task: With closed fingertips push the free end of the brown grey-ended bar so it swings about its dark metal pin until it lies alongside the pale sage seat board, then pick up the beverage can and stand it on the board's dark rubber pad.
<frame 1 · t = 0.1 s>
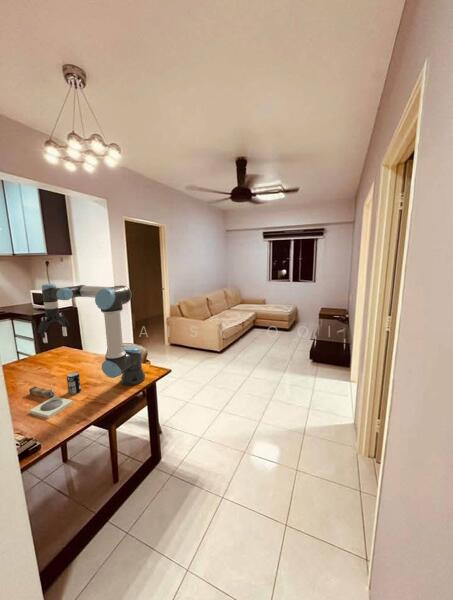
hand: (55, 339, 165), 28 cm above the table, fingers open, 13 cm apart
seat board: (52, 407, 137), on the table
brown grey-ended bar: (41, 392, 148), point 2 cm above the table, hinge at 0.0°
beverage can: (75, 392, 152), on the table
hinge pin: (52, 398, 146), on the table
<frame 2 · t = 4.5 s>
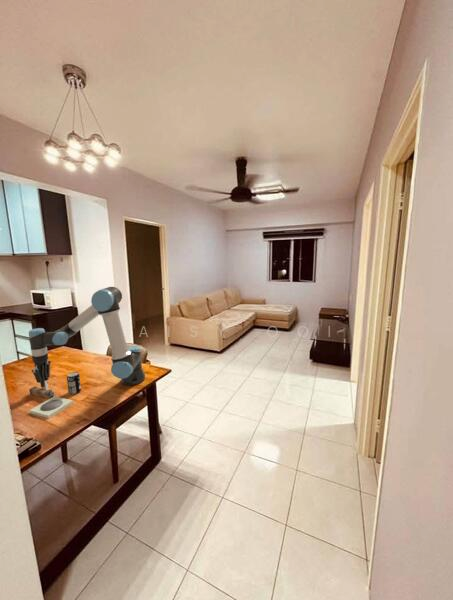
hand: (45, 390, 151), 1 cm above the table, fingers closed
brown grey-ended bar: (41, 392, 148), point 2 cm above the table, hinge at 0.0°, touching gripper
everything else where it was.
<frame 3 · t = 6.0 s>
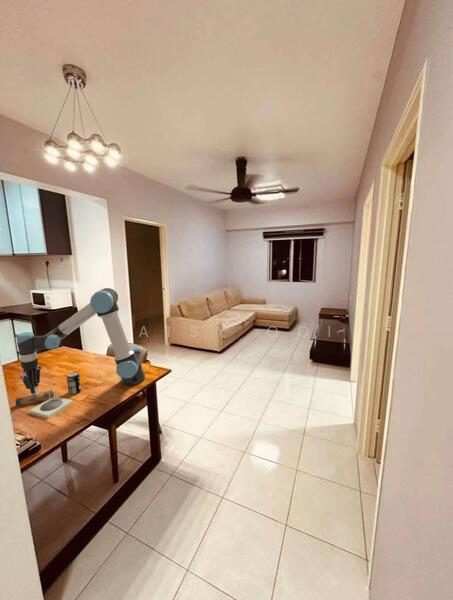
hand: (35, 397, 144), 2 cm above the table, fingers closed
brown grey-ended bar: (33, 398, 142), point 2 cm above the table, hinge at 45.8°, touching gripper
everything else where it was.
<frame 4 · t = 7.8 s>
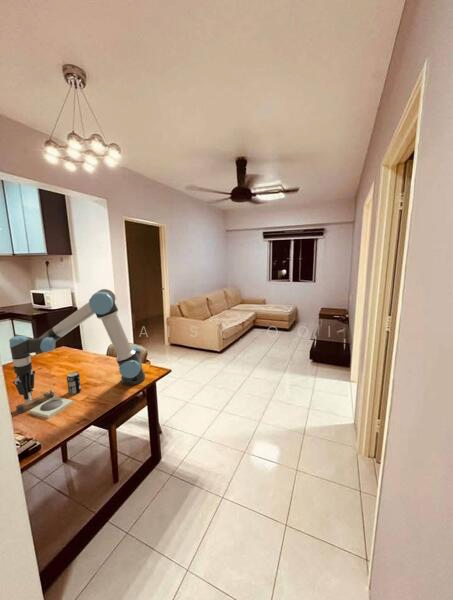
hand: (29, 403, 139), 1 cm above the table, fingers closed
brown grey-ended bar: (34, 402, 138), point 2 cm above the table, hinge at 77.2°, touching gripper
everything else where it was.
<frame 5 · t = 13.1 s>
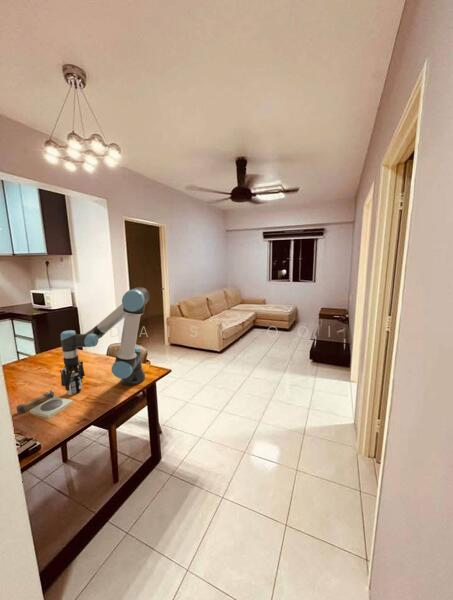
hand: (75, 391, 152), 0 cm above the table, fingers closed on beverage can, 7 cm apart
brown grey-ended bar: (34, 402, 138), point 2 cm above the table, hinge at 78.8°
beverage can: (75, 392, 152), on the table, touching gripper
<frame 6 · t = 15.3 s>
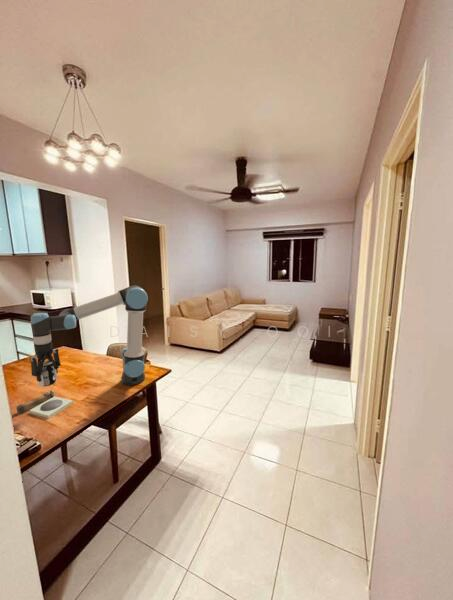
hand: (48, 382, 134), 15 cm above the table, fingers closed on beverage can, 7 cm apart
beverage can: (48, 384, 134), point 14 cm above the table, touching gripper
everything else where it was.
when the fingers open (4 cm above the table, at t = 17.7 s): beverage can drops 1 cm, resting on seat board.
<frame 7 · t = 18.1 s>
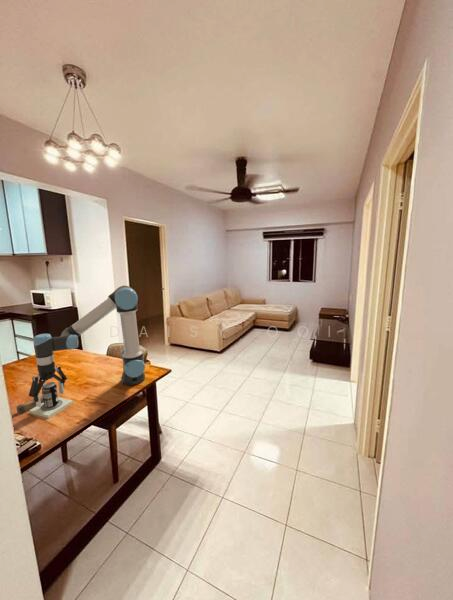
hand: (51, 399, 136), 5 cm above the table, fingers open, 12 cm apart
beverage can: (51, 405, 137), point 2 cm above the table, touching seat board
everything else where it was.
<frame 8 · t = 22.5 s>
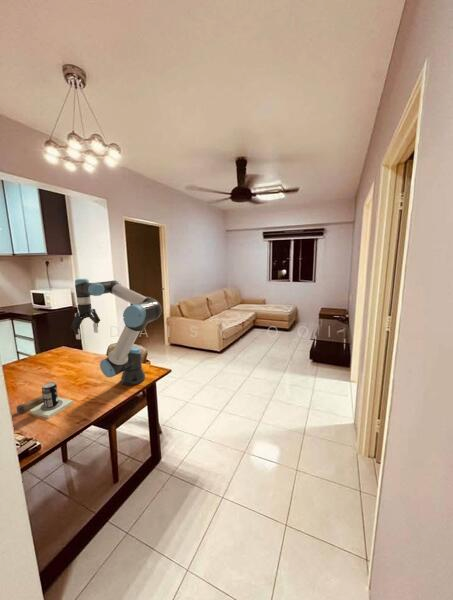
hand: (87, 335, 160), 32 cm above the table, fingers open, 13 cm apart
nothing on the table moved.
at the end: brown grey-ended bar at +79° (first picture: +0°); beverage can 0.1 cm from the seat board (horizontally); beverage can tilted 0° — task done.
